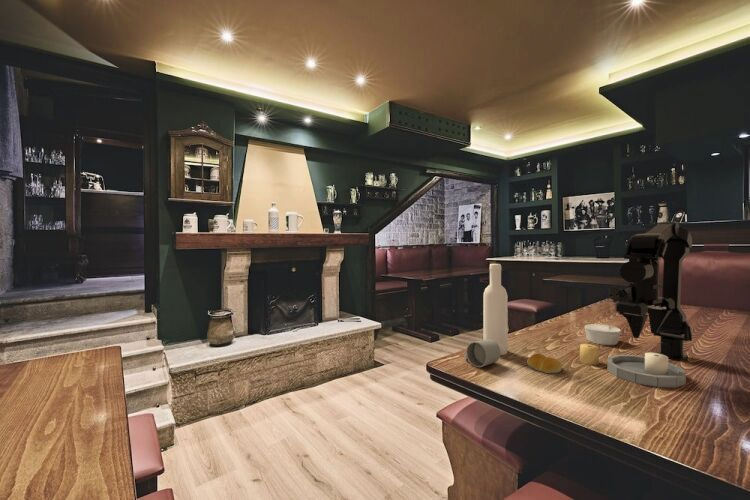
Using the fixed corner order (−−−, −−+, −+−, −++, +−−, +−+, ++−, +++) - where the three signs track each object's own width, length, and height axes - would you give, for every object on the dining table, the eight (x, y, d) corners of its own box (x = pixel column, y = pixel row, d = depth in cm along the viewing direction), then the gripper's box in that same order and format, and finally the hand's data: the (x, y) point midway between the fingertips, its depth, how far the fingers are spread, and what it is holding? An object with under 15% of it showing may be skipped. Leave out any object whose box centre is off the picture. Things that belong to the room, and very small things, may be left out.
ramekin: (628, 346, 123) (628, 331, 123) (596, 346, 123) (596, 331, 123) (607, 337, 134) (607, 323, 134) (578, 337, 134) (578, 324, 134)
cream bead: (650, 368, 99) (650, 351, 99) (671, 375, 94) (672, 356, 94) (640, 372, 97) (640, 354, 96) (661, 378, 92) (662, 359, 92)
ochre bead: (586, 358, 111) (586, 343, 111) (602, 363, 107) (602, 347, 107) (576, 361, 109) (576, 345, 109) (592, 366, 105) (592, 349, 104)
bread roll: (554, 376, 98) (554, 362, 97) (523, 367, 105) (523, 354, 104) (566, 369, 103) (566, 356, 103) (536, 361, 110) (536, 348, 110)
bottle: (500, 357, 113) (500, 265, 112) (478, 351, 119) (478, 264, 118) (512, 351, 119) (512, 264, 118) (491, 346, 125) (491, 262, 124)
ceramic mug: (502, 364, 107) (502, 339, 107) (486, 370, 102) (486, 344, 102) (474, 356, 115) (474, 333, 115) (458, 361, 111) (457, 337, 110)
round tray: (628, 359, 110) (628, 351, 109) (697, 379, 94) (697, 369, 94) (594, 369, 102) (594, 360, 102) (663, 392, 87) (663, 382, 86)
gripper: (632, 275, 108) (631, 325, 108) (596, 279, 99) (595, 333, 100) (676, 278, 98) (675, 333, 98) (640, 283, 89) (639, 343, 90)
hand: (645, 335), depth 97 cm, fingers open, 9 cm apart
